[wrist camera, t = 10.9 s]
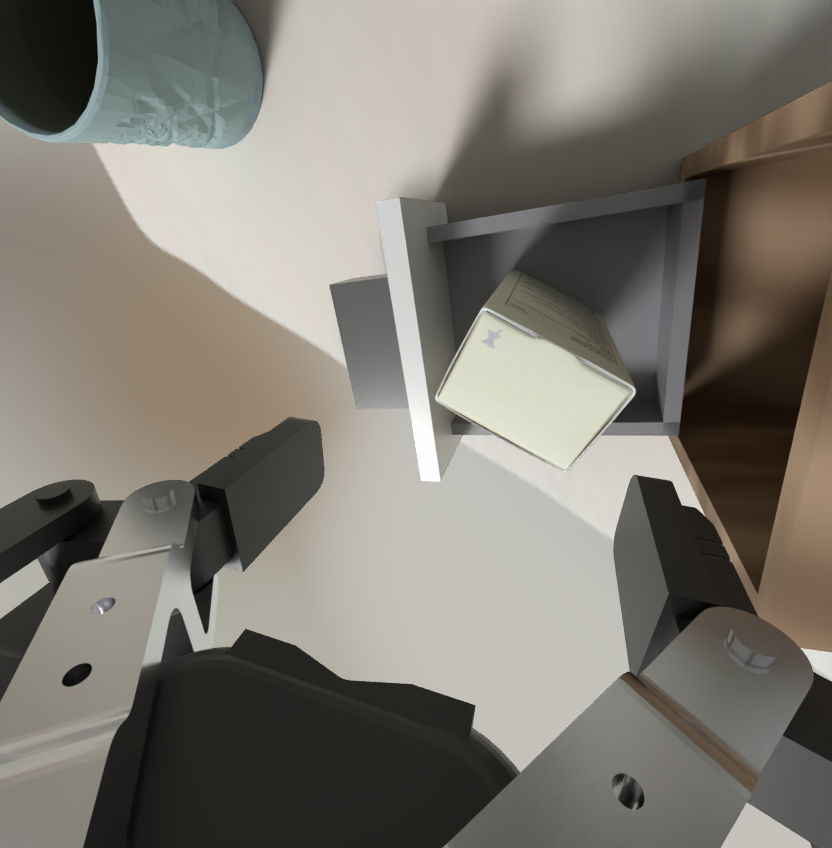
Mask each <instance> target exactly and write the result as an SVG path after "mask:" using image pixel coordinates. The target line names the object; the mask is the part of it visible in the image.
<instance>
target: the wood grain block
mask: <svg viewBox="0 0 832 848" xmlns="http://www.w3.org/2000/svg"><path fill="white" fill-rule="evenodd" d="M701 179H706V187H705V196H704V205H703V214H702V224H701V233H700V242H699V252H698V261H697V270H696V279H695V289H694V298H693V307H692V316H691V326H690V335H689V344H688V353H687V363H686V372H685V381H684V391H683V400H682V409H681V418H680V428H679V436H669V438H670V441H671V443H672V445H673V447H674V449H675V451H676V453H677V456H678V458H679V460H680V462H681V464H682V466H683V469H684V471H685V473H686V475H687V477H688V479H689V481H690V484H691V486H692V488H693V490H694V492H695V494H696V496H697V499H698V501H699V503H700V505H701V507H702V509H703V511H704V514H705V516H706V518H707V519H708V520H709V521H710V522H711V523H713V524H714V526H715V528H716V530H717V532H718V534H719V536H720V538H721V540H722V542H723V546H724V547H725V548H726V551H727V553H728V555H729V557H730V562H732V563H733V565H734V567H735V569H736V571H737V573H738V575H739V577H740V579H741V582H742V584H743V586H744V588H745V590H746V592H747V594H748V596H749V598H750V600H751V602H752V604H753V606H754V608H755V610H756V612H757V615H758V617H760V618H762V619H763V620H765V621H767V622H769V623H771V624H772V625H774V626H775V627H777V628H778V629H780V630H781V631H782V632H783V633H785V634H786V635H787V636H788V637H790V638H791V639H792V640H793V641H794V642H795V643H796V644H797V645H798V646H799V648H805V649H812V650H819V651H827V652H832V81H830V82H828V83H826V84H825V85H823V86H821V87H819V88H817V89H815V90H813V91H811V92H809V93H807V94H805V95H803V96H802V97H800V98H798V99H796V100H794V101H792V102H790V103H788V104H786V105H784V106H782V107H780V108H778V109H777V110H775V111H773V112H771V113H769V114H767V115H765V116H763V117H761V118H759V119H757V120H755V121H753V122H752V123H750V124H748V125H746V126H744V127H742V128H740V129H738V130H736V131H734V132H732V133H730V134H729V135H727V136H725V137H723V138H721V139H719V140H717V141H715V142H713V143H711V144H709V145H707V146H705V147H704V148H702V149H700V150H698V151H696V152H694V153H692V154H690V155H688V156H686V157H684V158H682V166H681V178H680V183H683V182H689V181H695V180H701Z"/></svg>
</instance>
